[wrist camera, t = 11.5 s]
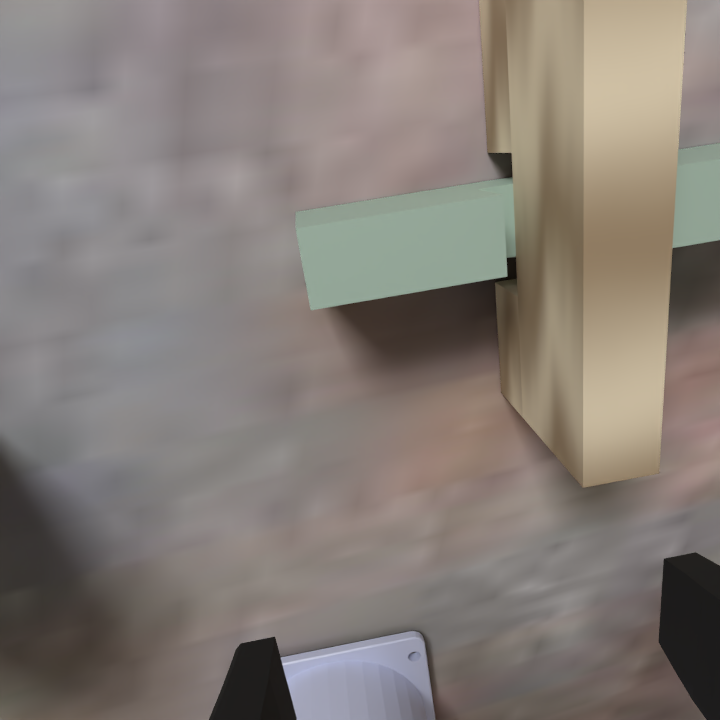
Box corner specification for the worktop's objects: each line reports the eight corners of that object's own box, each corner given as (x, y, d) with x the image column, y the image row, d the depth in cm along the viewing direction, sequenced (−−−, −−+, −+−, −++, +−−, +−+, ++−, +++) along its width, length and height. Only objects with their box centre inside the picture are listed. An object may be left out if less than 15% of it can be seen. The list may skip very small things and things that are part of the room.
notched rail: (731, 205, 18) (844, 218, 14) (307, 277, 17) (310, 310, 14) (738, 140, 17) (858, 136, 14) (295, 212, 17) (295, 228, 13)
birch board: (555, 382, 20) (659, 473, 14) (501, 392, 20) (582, 487, 14) (549, -11, 15) (693, -105, 10) (478, -1, 15) (584, -89, 10)
